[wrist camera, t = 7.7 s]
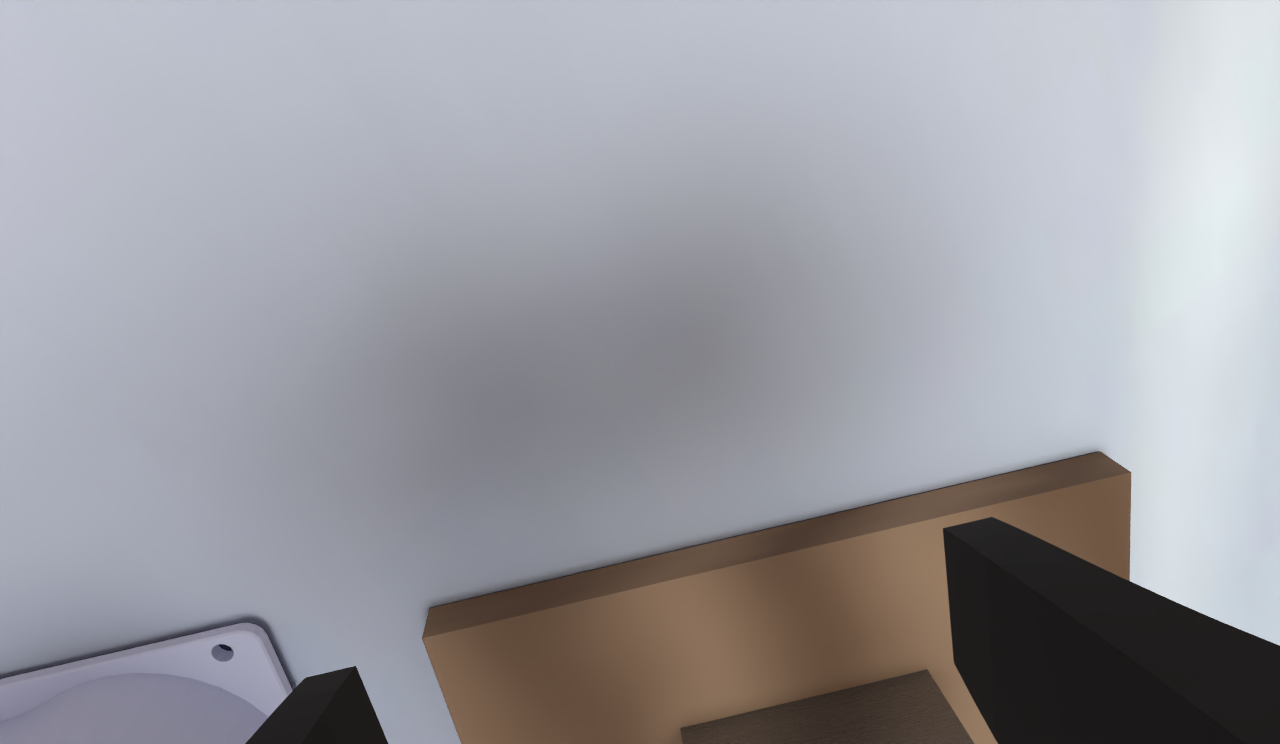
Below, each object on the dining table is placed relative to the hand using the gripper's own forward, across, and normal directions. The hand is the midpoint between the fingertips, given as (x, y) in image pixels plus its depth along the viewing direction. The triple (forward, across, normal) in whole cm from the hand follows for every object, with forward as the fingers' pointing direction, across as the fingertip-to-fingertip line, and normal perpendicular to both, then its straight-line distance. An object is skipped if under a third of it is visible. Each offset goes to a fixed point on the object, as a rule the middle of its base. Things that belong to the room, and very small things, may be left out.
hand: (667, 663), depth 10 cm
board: (+10, -3, +13) cm, 17 cm away
